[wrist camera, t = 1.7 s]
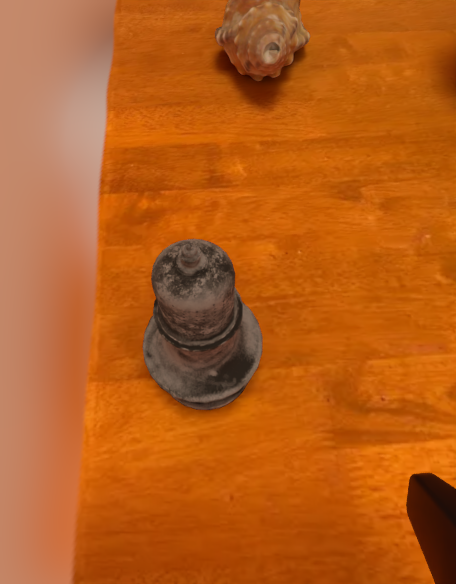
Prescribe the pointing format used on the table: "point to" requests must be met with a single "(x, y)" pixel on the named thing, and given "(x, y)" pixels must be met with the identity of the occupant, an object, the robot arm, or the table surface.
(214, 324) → the chess piece
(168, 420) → the table surface
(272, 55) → the seashell
